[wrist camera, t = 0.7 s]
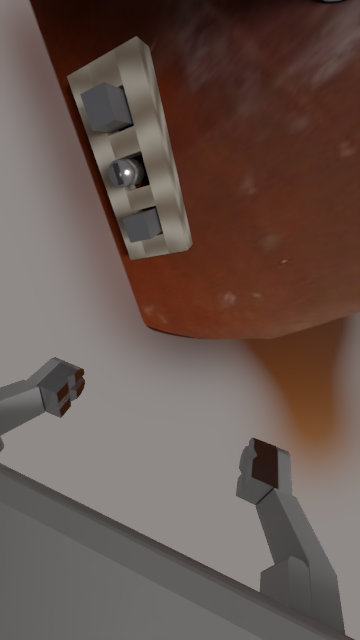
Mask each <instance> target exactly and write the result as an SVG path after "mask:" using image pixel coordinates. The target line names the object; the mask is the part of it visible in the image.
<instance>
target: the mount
mask: <svg viewBox="0 0 360 640" xmlns="http://www.w3.org/2000/svg"><path fill="white" fill-rule="evenodd" d="M67 78H68V81H69V84H70V87H71V90H72V93H73V95H74V98H75V101H76V104H77V107H78V110H79V113H80V116H81V118H82V121H83V124H84V127H85V130H86V133H87V136H88V138H89V141H90V144H91V147H92V150H93V153H94V156H95V159H96V161H97V164H98V167H99V170H100V173H101V176H102V179H103V181H104V184H105V187H106V190H107V193H108V196H109V199H110V202H111V204H112V207H113V210H114V213H115V216H116V219H117V222H118V224H119V227H120V230H121V233H122V236H123V239H124V242H125V245H126V247H127V250H128V253H129V256H130V259H131V260H133V259H139V258H145V257H151V256H157V255H163V254H169V253H175V252H181V251H187V250H188V249H189V248H190V247H191V245H192V244H193V243H192V239H191V234H190V230H189V225H188V221H187V216H186V211H185V207H184V202H183V198H182V193H181V189H180V184H179V180H178V175H177V171H176V166H175V162H174V157H173V153H172V148H171V144H170V139H169V135H168V130H167V126H166V121H165V117H164V112H163V107H162V103H161V98H160V94H159V89H158V85H157V80H156V76H155V71H154V67H153V62H152V58H151V53H150V49H149V46H147V45H146V44H145V43H144V42H143V41H142V40H140V39H139V38H138V37H137V36H136V37H134V38H132V39H131V40H129V41H127V42H125V43H124V44H122V45H120V46H119V47H117V48H115V49H113V50H112V51H110V52H108V53H106V54H105V55H103V56H101V57H100V58H98V59H96V60H94V61H93V62H91V63H89V64H87V65H86V66H84V67H82V68H81V69H79V70H77V71H75V72H74V73H72V74H70V75H68V76H67ZM103 82H106V83H108V84H111V85H113V86H115V87H118V88H120V89H123V91H124V94H125V95H126V98H127V101H128V105H129V109H130V112H131V116H132V120H133V123H134V126H132V127H130V128H128V129H125V130H123V131H120V132H119V130H117V131H114V132H112V133H109V132H101V131H93V130H92V128H91V125H90V122H89V119H88V116H87V113H86V110H85V107H84V104H83V101H82V98H81V95H80V94H82V93H84V92H85V91H87V90H89V89H91V88H93V87H95V86H97V85H99V84H101V83H103ZM139 155H142V156H143V160H144V164H145V168H146V171H147V175H148V179H149V182H150V185H148V186H145V187H141V188H138V189H136V187H135V185H132V186H128V187H123V188H119V187H117V186H115V185H114V184H113V183H112V182H111V180H110V178H109V172H108V171H109V166H110V164H111V163H112V162H113V161H114V160H128V159H130V158H133V157H136V156H139ZM152 206H156V208H157V212H158V215H159V219H160V223H161V227H162V230H163V231H162V232H160V233H159V234H157V235H156V236H154V237H153V238H151V239H148V240H143V241H138V242H133V243H130V240H129V237H128V234H127V231H126V228H125V225H124V222H123V218H125V217H127V216H130V215H132V214H135V213H138V212H142V211H143V210H142V209H144V208H148V207H152Z"/></svg>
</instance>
